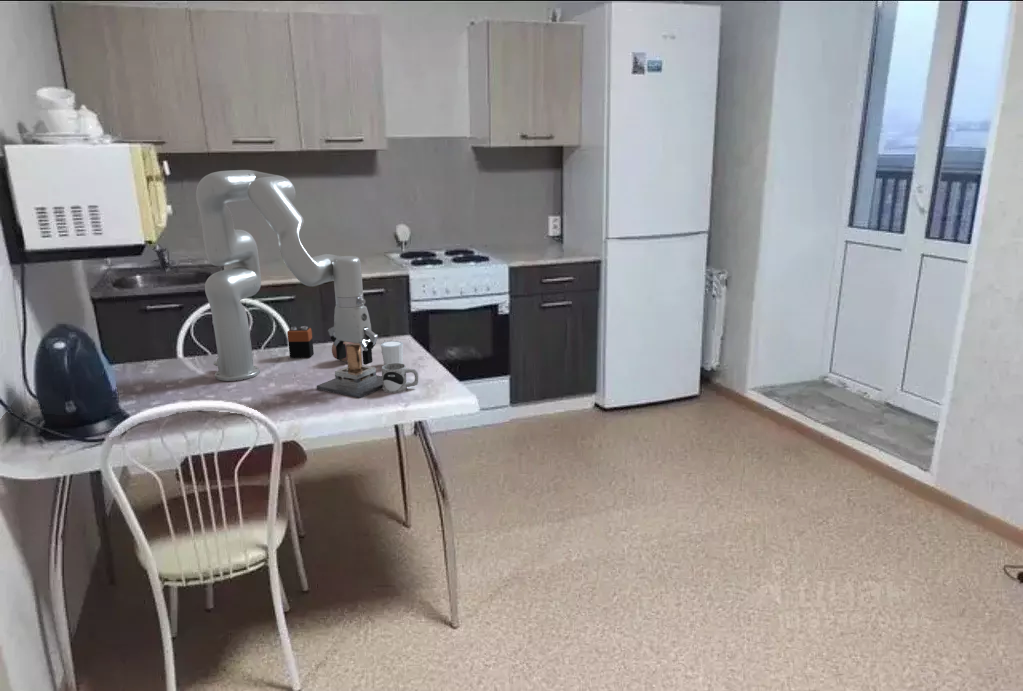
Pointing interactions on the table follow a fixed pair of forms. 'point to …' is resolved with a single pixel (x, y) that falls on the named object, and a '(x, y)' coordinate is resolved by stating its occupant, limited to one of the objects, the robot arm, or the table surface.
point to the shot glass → (392, 352)
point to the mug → (397, 377)
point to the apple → (336, 353)
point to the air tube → (354, 358)
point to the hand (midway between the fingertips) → (354, 361)
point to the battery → (300, 342)
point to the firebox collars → (354, 382)
